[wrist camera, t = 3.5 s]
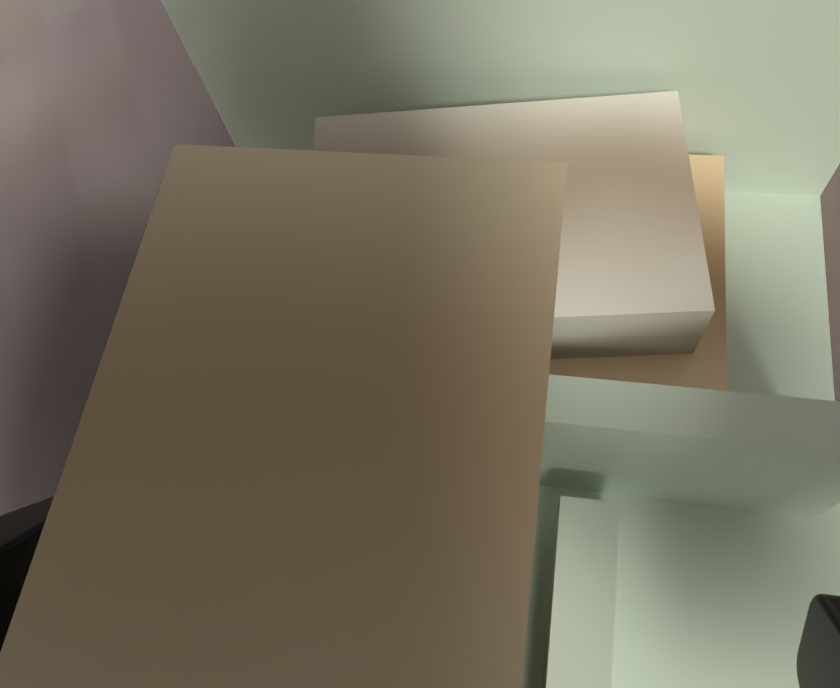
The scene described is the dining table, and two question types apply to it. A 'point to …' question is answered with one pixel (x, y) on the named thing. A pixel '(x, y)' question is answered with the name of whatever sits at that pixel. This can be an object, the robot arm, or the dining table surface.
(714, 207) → the pine offcut
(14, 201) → the dining table surface
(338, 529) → the birch board
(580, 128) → the white offcut
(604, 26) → the offcut rack
